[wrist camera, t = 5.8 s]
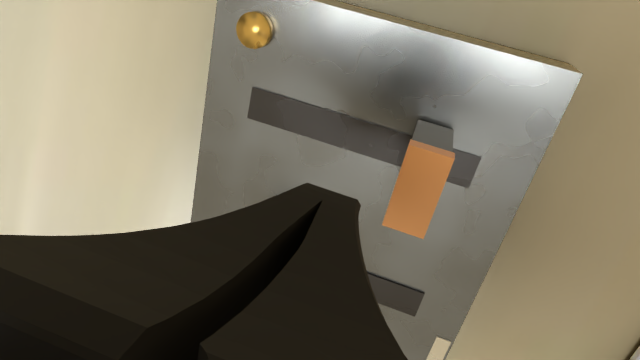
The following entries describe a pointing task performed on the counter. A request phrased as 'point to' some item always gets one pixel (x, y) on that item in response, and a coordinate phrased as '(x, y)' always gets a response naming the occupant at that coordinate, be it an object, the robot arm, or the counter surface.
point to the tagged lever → (421, 179)
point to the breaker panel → (379, 139)
